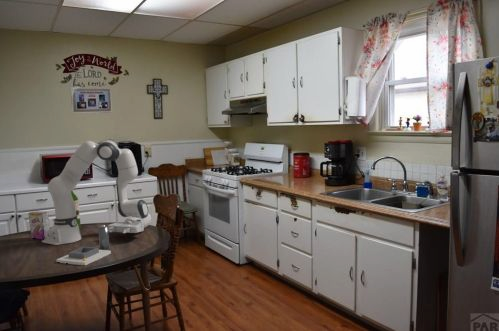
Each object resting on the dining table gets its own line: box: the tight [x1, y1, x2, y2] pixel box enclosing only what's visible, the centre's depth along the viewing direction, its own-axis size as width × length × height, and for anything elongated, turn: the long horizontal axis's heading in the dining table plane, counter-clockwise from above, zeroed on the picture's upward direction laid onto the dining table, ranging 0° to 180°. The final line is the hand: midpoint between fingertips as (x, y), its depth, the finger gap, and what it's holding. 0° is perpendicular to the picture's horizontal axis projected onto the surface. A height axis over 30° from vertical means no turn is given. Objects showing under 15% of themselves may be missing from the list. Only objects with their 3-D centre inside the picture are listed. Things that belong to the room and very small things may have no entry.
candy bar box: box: [27, 210, 51, 240], centre depth 242 cm, size 11×5×16 cm, turn 71°
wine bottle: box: [71, 189, 82, 230], centre depth 260 cm, size 9×9×32 cm
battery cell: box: [97, 224, 111, 250], centre depth 214 cm, size 5×5×13 cm
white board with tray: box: [55, 246, 112, 266], centre depth 201 cm, size 18×18×4 cm
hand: (115, 231), depth 224 cm, fingers open, 8 cm apart
